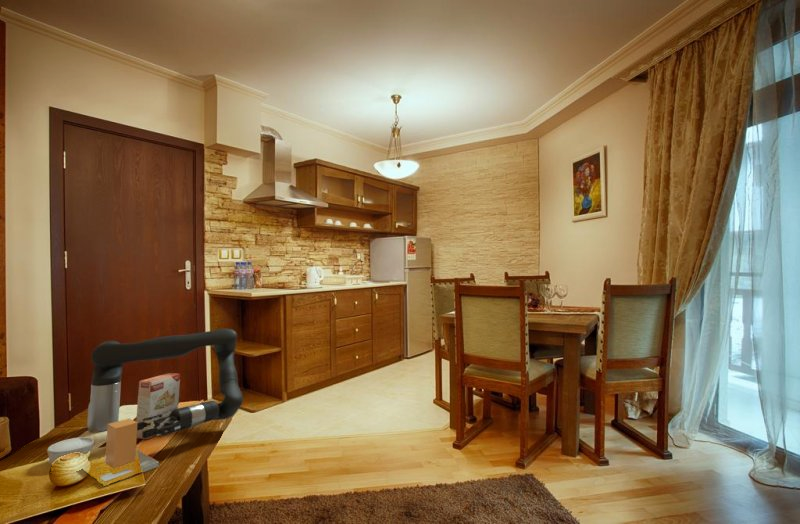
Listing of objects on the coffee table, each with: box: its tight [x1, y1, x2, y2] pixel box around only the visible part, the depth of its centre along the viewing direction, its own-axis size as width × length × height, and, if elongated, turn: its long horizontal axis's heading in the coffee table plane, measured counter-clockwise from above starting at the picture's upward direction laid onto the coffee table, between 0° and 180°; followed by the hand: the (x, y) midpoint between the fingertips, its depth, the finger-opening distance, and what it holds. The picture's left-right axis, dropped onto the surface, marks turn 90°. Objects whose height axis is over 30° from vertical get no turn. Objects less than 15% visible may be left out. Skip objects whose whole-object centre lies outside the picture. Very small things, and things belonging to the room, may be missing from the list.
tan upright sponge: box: [105, 418, 138, 469], centre depth 116 cm, size 6×6×12 cm
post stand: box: [100, 448, 160, 482], centre depth 115 cm, size 18×14×8 cm
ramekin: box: [46, 436, 95, 465], centre depth 119 cm, size 11×11×5 cm
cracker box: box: [135, 372, 181, 440], centre depth 143 cm, size 14×6×21 cm, turn 168°
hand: (136, 431), depth 119 cm, fingers open, 8 cm apart
